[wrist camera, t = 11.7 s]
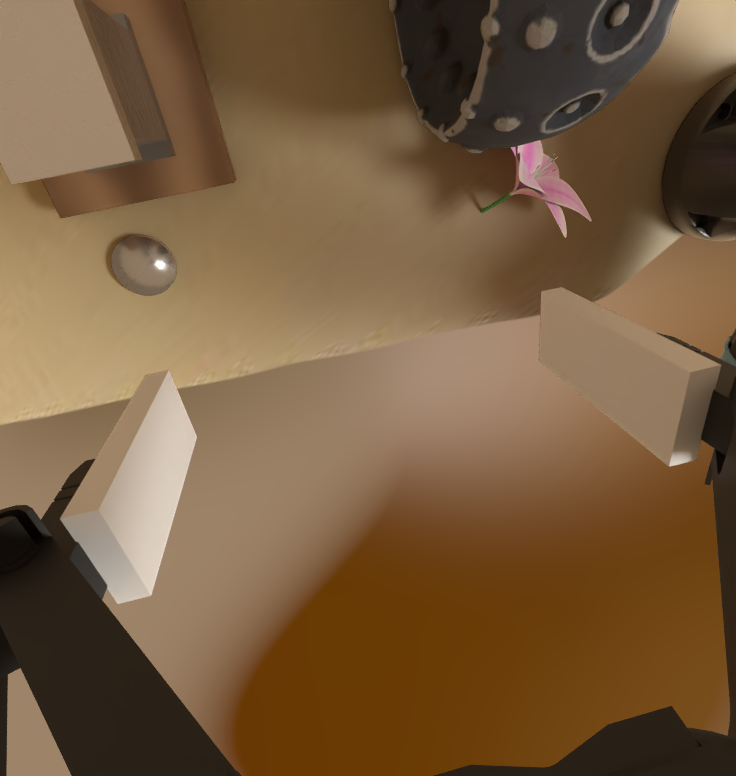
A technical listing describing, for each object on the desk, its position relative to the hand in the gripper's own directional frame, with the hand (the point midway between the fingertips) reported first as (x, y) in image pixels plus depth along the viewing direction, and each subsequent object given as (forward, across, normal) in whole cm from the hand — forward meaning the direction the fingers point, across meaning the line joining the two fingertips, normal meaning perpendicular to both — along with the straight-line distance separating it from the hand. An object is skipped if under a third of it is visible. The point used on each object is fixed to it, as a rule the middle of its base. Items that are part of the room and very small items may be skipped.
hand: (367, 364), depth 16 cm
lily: (+29, -19, -2) cm, 35 cm away
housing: (+25, +12, -12) cm, 30 cm away
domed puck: (+28, +15, 0) cm, 32 cm away
